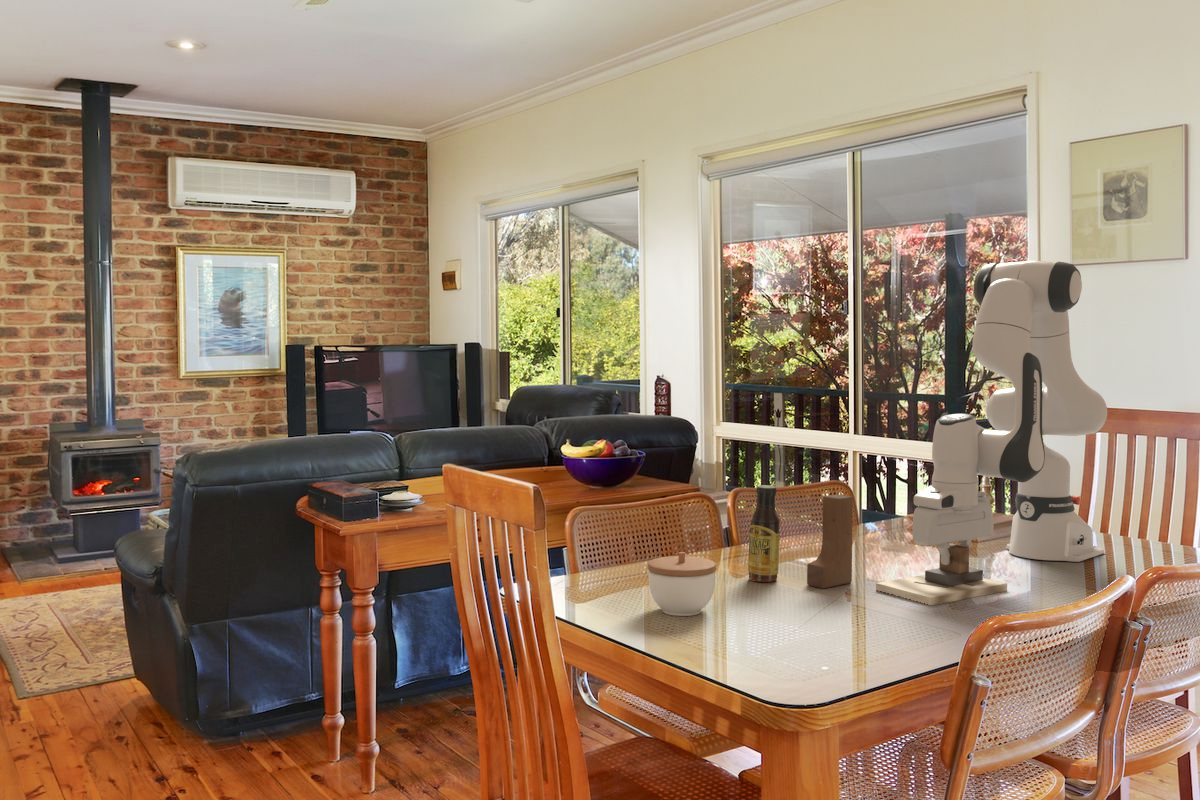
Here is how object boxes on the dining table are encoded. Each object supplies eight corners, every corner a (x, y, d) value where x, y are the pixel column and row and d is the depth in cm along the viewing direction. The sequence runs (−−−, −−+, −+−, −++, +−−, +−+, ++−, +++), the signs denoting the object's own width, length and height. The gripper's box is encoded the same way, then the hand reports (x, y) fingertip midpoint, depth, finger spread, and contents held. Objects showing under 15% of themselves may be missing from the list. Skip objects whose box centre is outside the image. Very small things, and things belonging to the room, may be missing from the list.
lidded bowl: (647, 602, 201) (647, 545, 200) (712, 602, 201) (713, 545, 200) (648, 620, 188) (648, 559, 188) (718, 620, 188) (718, 559, 187)
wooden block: (823, 589, 211) (823, 500, 210) (806, 585, 214) (806, 498, 213) (852, 583, 216) (853, 496, 215) (835, 579, 220) (836, 494, 219)
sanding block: (958, 574, 216) (959, 540, 216) (982, 579, 211) (983, 545, 211) (925, 580, 211) (925, 546, 211) (948, 586, 206) (949, 551, 206)
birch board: (950, 577, 221) (950, 569, 221) (1007, 590, 209) (1007, 582, 209) (875, 590, 210) (876, 582, 209) (931, 605, 198) (931, 597, 198)
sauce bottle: (742, 580, 219) (742, 486, 218) (759, 575, 224) (759, 483, 222) (768, 585, 215) (769, 489, 213) (785, 580, 219) (785, 485, 218)
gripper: (976, 488, 218) (975, 554, 219) (907, 497, 208) (906, 566, 209) (1001, 492, 213) (1000, 559, 214) (932, 501, 202) (931, 572, 203)
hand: (953, 562), depth 211 cm, fingers closed on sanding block, 3 cm apart
